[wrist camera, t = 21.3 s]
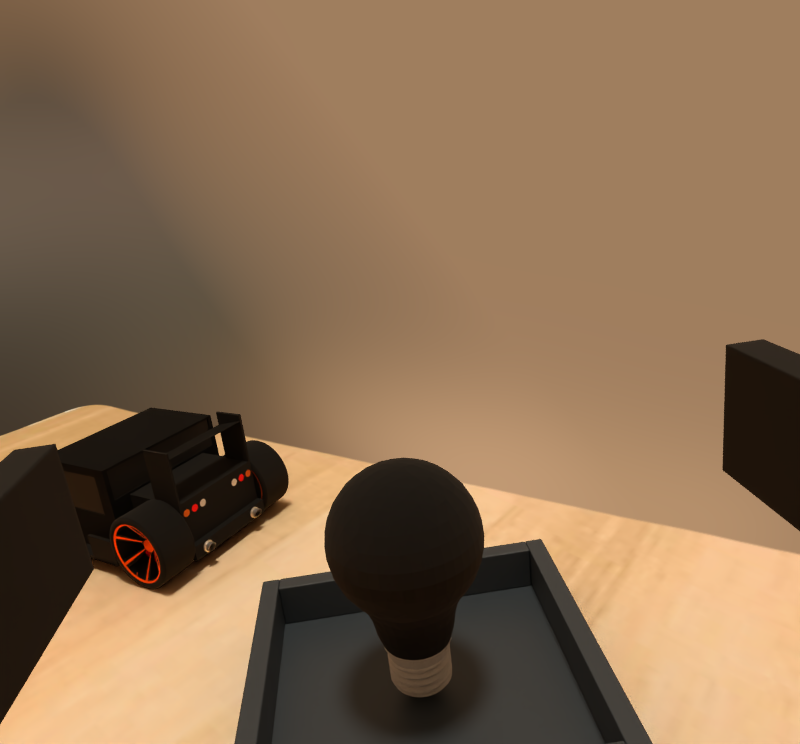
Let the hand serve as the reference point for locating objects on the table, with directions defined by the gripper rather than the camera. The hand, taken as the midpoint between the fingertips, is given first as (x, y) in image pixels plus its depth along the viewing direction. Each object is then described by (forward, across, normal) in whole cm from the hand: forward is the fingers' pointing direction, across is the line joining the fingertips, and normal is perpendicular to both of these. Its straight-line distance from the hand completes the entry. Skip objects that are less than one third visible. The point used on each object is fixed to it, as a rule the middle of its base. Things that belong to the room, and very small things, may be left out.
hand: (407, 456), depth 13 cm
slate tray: (+10, 0, -15) cm, 18 cm away
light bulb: (+10, 0, -15) cm, 18 cm away
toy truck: (+30, -18, -16) cm, 38 cm away
